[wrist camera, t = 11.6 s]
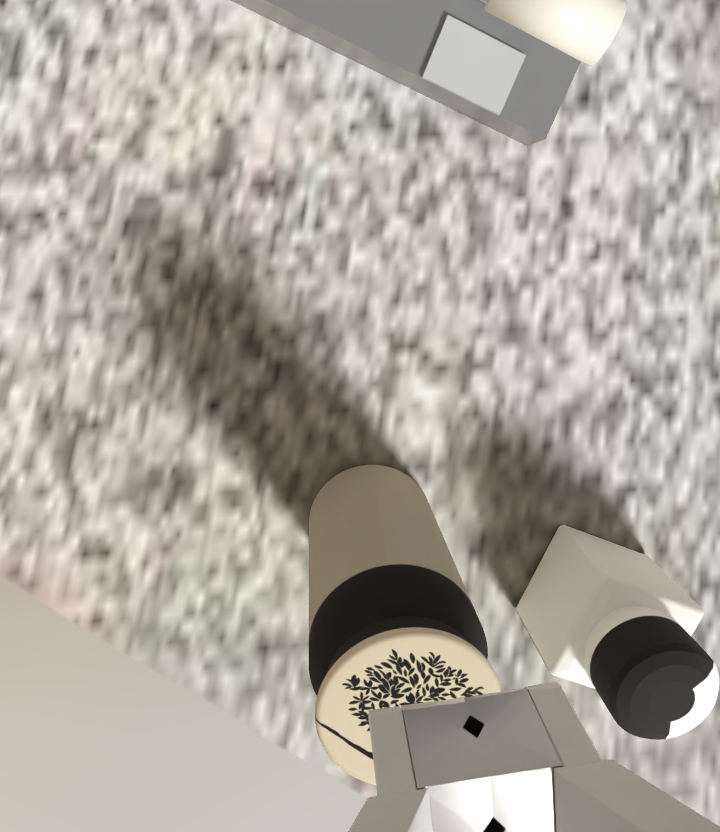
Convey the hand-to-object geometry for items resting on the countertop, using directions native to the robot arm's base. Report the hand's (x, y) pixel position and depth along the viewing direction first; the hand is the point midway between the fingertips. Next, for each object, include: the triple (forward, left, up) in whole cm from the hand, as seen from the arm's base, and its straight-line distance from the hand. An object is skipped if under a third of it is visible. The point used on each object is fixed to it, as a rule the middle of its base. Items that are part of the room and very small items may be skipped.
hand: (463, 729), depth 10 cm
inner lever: (-10, -17, -28) cm, 34 cm away
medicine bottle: (-14, +18, -31) cm, 39 cm away
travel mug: (0, +11, -31) cm, 33 cm away
